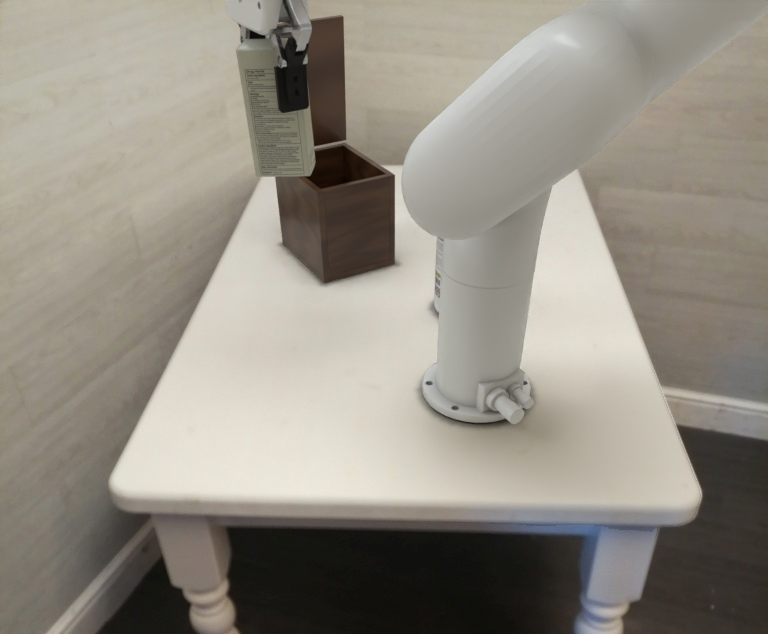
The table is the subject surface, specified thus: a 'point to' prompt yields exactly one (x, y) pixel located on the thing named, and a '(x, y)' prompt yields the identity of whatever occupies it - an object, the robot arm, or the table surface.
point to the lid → (326, 79)
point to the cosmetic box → (272, 116)
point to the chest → (339, 214)
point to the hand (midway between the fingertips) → (277, 98)
